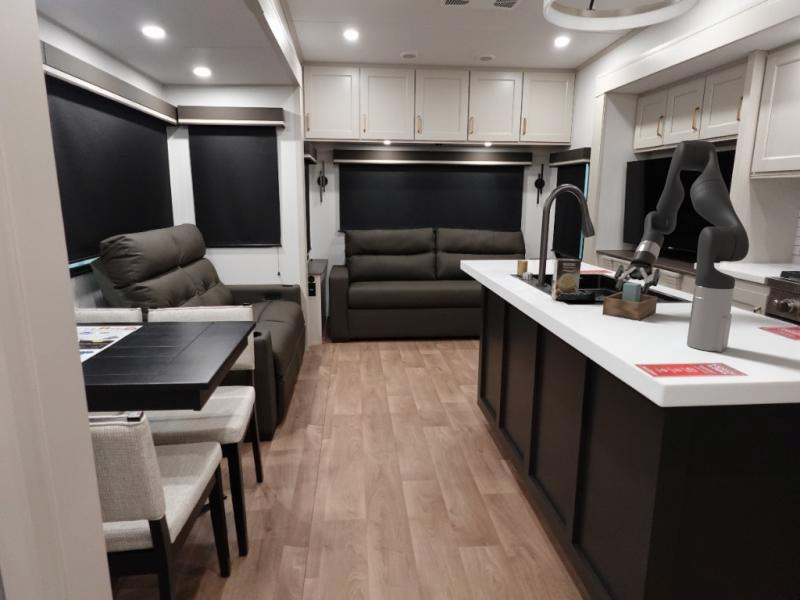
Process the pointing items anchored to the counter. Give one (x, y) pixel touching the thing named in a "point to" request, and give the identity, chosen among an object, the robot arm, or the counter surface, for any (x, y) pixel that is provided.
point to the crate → (629, 307)
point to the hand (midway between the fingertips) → (630, 291)
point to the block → (631, 292)
